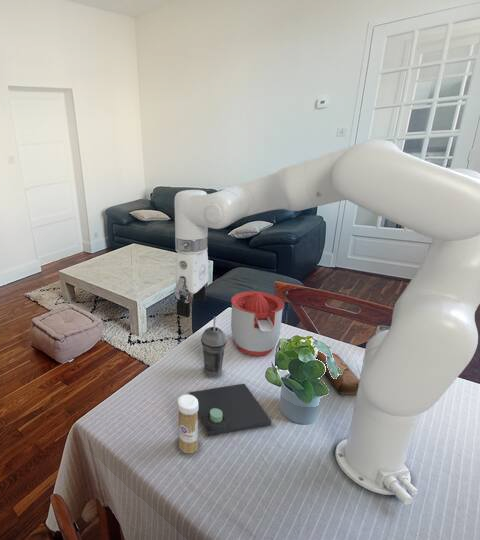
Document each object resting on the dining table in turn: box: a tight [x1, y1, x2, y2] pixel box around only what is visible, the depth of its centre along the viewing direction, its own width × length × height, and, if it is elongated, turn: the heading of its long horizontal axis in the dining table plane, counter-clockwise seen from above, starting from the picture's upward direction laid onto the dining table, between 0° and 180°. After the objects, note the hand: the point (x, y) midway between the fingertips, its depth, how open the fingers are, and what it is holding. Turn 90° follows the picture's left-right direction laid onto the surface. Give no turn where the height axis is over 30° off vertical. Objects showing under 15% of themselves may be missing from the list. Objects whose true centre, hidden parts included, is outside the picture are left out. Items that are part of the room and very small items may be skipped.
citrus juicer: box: [230, 290, 285, 357], centre depth 109 cm, size 16×17×20 cm
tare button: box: [210, 408, 223, 423], centre depth 82 cm, size 3×3×2 cm
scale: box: [189, 383, 272, 437], centre depth 87 cm, size 14×16×3 cm
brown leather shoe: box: [316, 351, 360, 396], centre depth 97 cm, size 18×7×7 cm
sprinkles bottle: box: [176, 393, 199, 454], centre depth 76 cm, size 5×5×14 cm
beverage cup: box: [200, 316, 227, 379], centre depth 99 cm, size 7×7×20 cm
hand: (191, 307), depth 86 cm, fingers open, 9 cm apart
